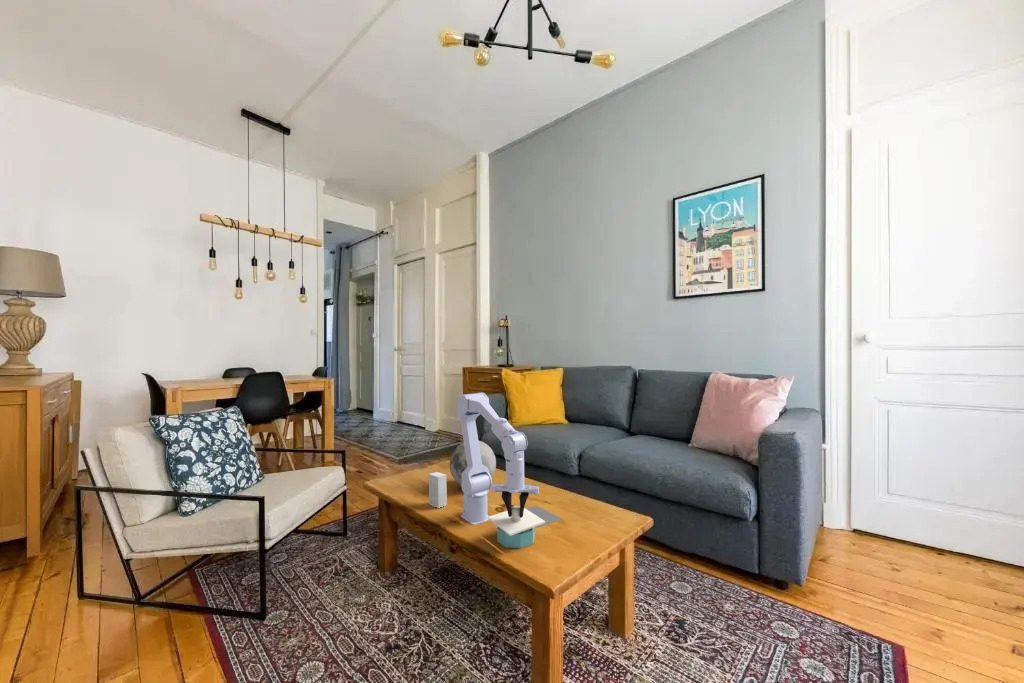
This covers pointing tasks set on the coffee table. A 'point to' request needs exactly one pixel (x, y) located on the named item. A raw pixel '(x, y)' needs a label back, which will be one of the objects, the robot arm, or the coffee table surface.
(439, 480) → the skincare box
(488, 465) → the moon model
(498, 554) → the coffee table surface
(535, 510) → the mat
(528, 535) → the bowl
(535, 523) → the lid
